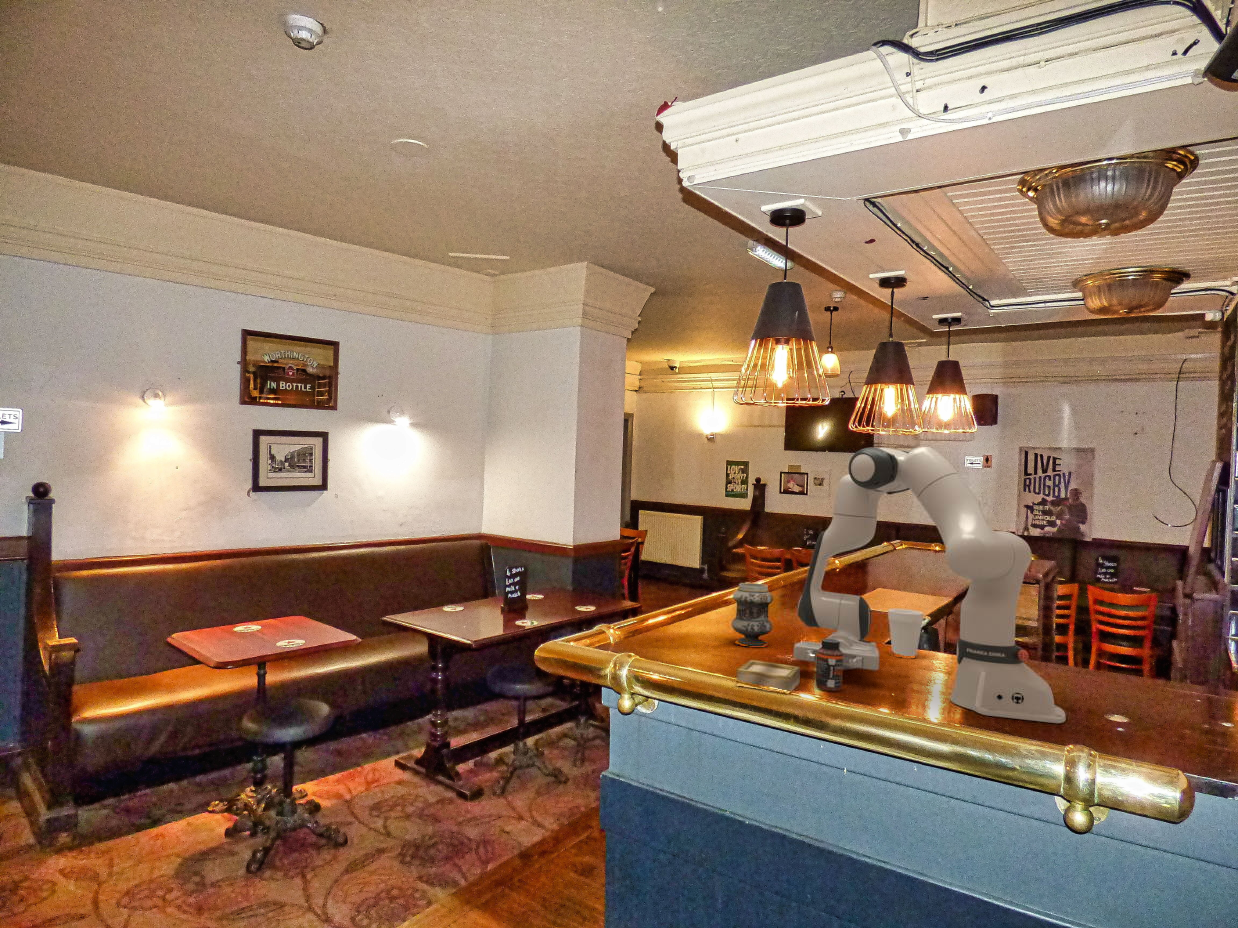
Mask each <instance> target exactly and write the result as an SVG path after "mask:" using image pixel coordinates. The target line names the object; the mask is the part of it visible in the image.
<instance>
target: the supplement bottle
mask: <svg viewBox="0 0 1238 928" xmlns="http://www.w3.org/2000/svg"><path fill="white" fill-rule="evenodd" d="M821 643H822V647H821V648H819V649H818V651H817V662H816V665H815V666H816V671H815V687H816V688H817V689H818V690H821V691H827V692H839V691H841V690H842V687H843V671H844V670H843V652H842V651H841V650H840V649H839V641H838V640H833V639H827V638H823V639H821Z"/></svg>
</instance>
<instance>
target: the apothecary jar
mask: <svg viewBox="0 0 1238 928" xmlns="http://www.w3.org/2000/svg"><path fill="white" fill-rule="evenodd" d="M768 587H769V586H768V585H767V584H763V583H753V582H751V583H750V582H740V583H739V584H738V588H737V590H735V591H734V593H733V594H732V597H733V601H735V602H736V614H735V615H736V616H735V618H733V620H732V621H731V627H732V629H733V630H734V632H736V633H738V634H740V635H742V636H744V637H741V638H739V639H737V640H738V642H739V643H741V644H745V645H748V646H763V645H764V644H766V643H767V642H766V641H764V640H763V639H759V638H760V637H762V636H765V635H768V634H770V633H771V631H772V630H773V624H772V621H771V620H769V608H770V607H769V605H770V604H772V602H773V600H774V598H773V595H772V594H771V592H769V589H768Z"/></svg>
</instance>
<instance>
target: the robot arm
mask: <svg viewBox="0 0 1238 928" xmlns="http://www.w3.org/2000/svg"><path fill="white" fill-rule="evenodd" d="M847 468H848V470H847V471H848V474H845V475H844V476H843V477H841V479H839V482H838V485H837V489H836V492H835V496H834V497H835V498H834V505H833V513H832V514H833V515H832V519H831V522H830V524H829V526H828V528H827V529H826V530H824V531H821V532H820V534H819V536H818V538H817V539H816V543H815V546H814V549H813V552H812V556H811V561H810V563H809V568H808V572H807V576H806V579H805V584H804V586H803V591H802V593H801V595H800V598H799V600H798V603H797V616H798V619H800V621H801V622H802V623H803V624H804V625H805V626H806V627H808V628H817V629H821V628H824V629H829V630H835V631H833V633H831V634H830V635H829V636H828V637H827V638H826V639H833V640H838V641H839V649H840V650H841V651H842V652H843V670H842V671H844V670H854V669H861V670H870V671H879V668H880V652H879V649H878V648H877V644H876V642H871V641H868V640H865V639H866V638H867V637H868V636H869V634H870V630H871V623H872V622H871V621H872V612H871V611H872V610H871V607H870V605H869V604H868V602H867V600H866V599H865V598H864V597H863V596H862V595H855V594H849V593H848V594H847V593H839V592H830V591H825V590H823V589H822V583H823V580H824V576H825V572H826V568H827V565H828V562H829V560H830V559H831V557H833V556H835V555H837V554H840V553H844V552H847V551H853V550H855V549H856V550H857V549H859V548H861V547H864V546H866V545H867V544H868V543H870V542H871V540H872V539H873V538H874V536H875V533H876V528H877V521H878V505H879V501H880V498H881V497H883V495H884V494H887V495H894V494H898V493H904V492H907V491H909V490H911V492H912V494H913V495H914V497H916V500H918V502H919V503H920V505H921V506H922V508H923V509H924V510H925V511H926V513H927V514H928V516H929V518H930V519H931V520H932V522H933V524H934V525H935V527H936V528H937V529H938V532H939V535H940V537H941V539H942V542H943V544H944V546H945V547H944V548H945V553H944V554H945V556H944V557H945V561H946V564H947V566H948V567H949V569H950V570H951V571H952V572H954V574H956V575H957V576H959V577H962V578H965V579H968V580H970V583H969V588H968V590H967V593H966V595H965V597H964V598H963V599H962V602H961V605H960V620H959V621H960V624H959V628H960V629H959V637H958V638H957V643H956V662H957V670H956V676H955V681H954V684H953V689H952V693H951V694H950V697H949V700H950V701H951V702H952V703H953V704H955V705H957V706H960V707H963V708H965V709H969V710H971V711H974V712H976V713H978V714H980V715H983V716H990V717H991V716H992V717H997V718H999V717H1000V718H1008V719H1015V720H1016V719H1017V720H1025V721H1036V722H1041V723H1042V722H1044V723H1053V724H1062V723H1064V722H1065V721H1066V718H1067V717H1066V712H1065V711H1064V710H1063V709H1062V708H1061V707H1059V706H1058V705H1055V701H1054V700H1055V699H1054V695H1053V690H1052V689H1051V687H1050V685H1049V684H1048V682H1047V681H1046V680H1044V679H1043V678H1042V677H1041V676H1040V675H1039V674H1037V673H1036V672H1035V671H1034V670H1033V669H1032V668H1030V667H1029V666H1028V665H1027V664H1026V663H1025V661H1027V660H1029V657H1030V656H1029V653H1028V651H1027V650H1025V649H1024V648H1022V647H1021V646H1019V645H1017V644H1016V619H1017V618H1016V616H1017V607H1018V602H1019V597H1020V594H1021V591H1022V590H1021V589H1022V586H1023V582H1024V578H1025V574H1026V571H1027V570H1028V568H1029V567H1030V565H1031V562H1032V559H1033V557H1032V550H1031V547H1030V546H1029V544H1028V543H1027V541H1025V540H1024V539H1023V538H1022V537H1020V536H1018V535H1016V534H1014V533H1012V532H1009V531H1004V530H993V529H992V527H990V526H989V524H988V522H987V521H986V519H985V516H984V515H983V512H982V509H981V501H980V499H979V497H978V496H977V495H976V494H975V493H974V492H973V490H972V489H971V488H970V486H969V485H968V483H966V481H965V479H964V478H963V477H962V476H961V475H960V473H959V472H958V471H957V470H956V468H955V467H954V466H953V465H952V464H951V463H950V462H949V461H948V460H947V459H946V458H945V457H944V456H943V455H942V454H941V453H939V452H938V450H936V449H934V448H932V447H929V446H919V447H916V448H915V449H913V450H911V451H910V452H908V451H907V450H906V451H905V450H898V449H893V448H889V447H874V446H872V447H864V448H861V449H859V450H857V451H856V452H855V453H854V454H853V455H852V456H851V457H850V460H849V463H848V467H847ZM821 647H822V642H821V643H820V642H813V641H800V642H797V643H795V644H794V646H793V658H794V659H795V660H799V661H805V662H806V661H807V662H810V663H817V651H818V649H819V648H821Z"/></svg>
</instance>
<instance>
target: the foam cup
mask: <svg viewBox="0 0 1238 928" xmlns="http://www.w3.org/2000/svg"><path fill="white" fill-rule="evenodd" d="M887 610H888V611H887V612H888V613H887V618H888V624H889V631H890V632H889V633H890V643H891V644H890V645H891V652H892V651H893V652H894V653H896V654H900V655H904V656H915V655H916V656H917V653H918V648H919V643H920V637H921V636H920V635H921V630H922V625H923V624H922V623H923V622H924V613H923V612H922V611H919V610H914V609H906V608H889V609H887Z"/></svg>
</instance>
